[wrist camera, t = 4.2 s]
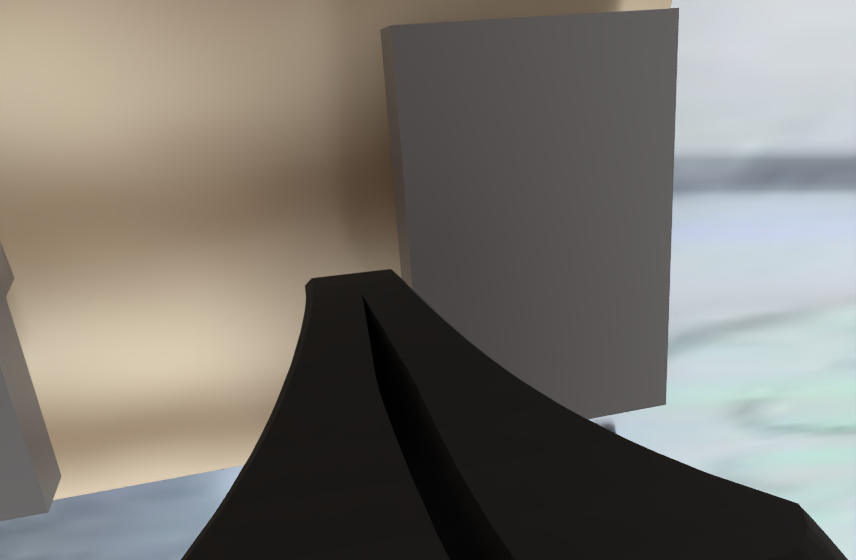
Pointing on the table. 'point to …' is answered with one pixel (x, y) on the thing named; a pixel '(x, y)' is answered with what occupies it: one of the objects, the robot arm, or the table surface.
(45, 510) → the rocker
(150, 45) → the switch panel
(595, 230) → the rocker
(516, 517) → the robot arm
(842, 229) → the table surface
